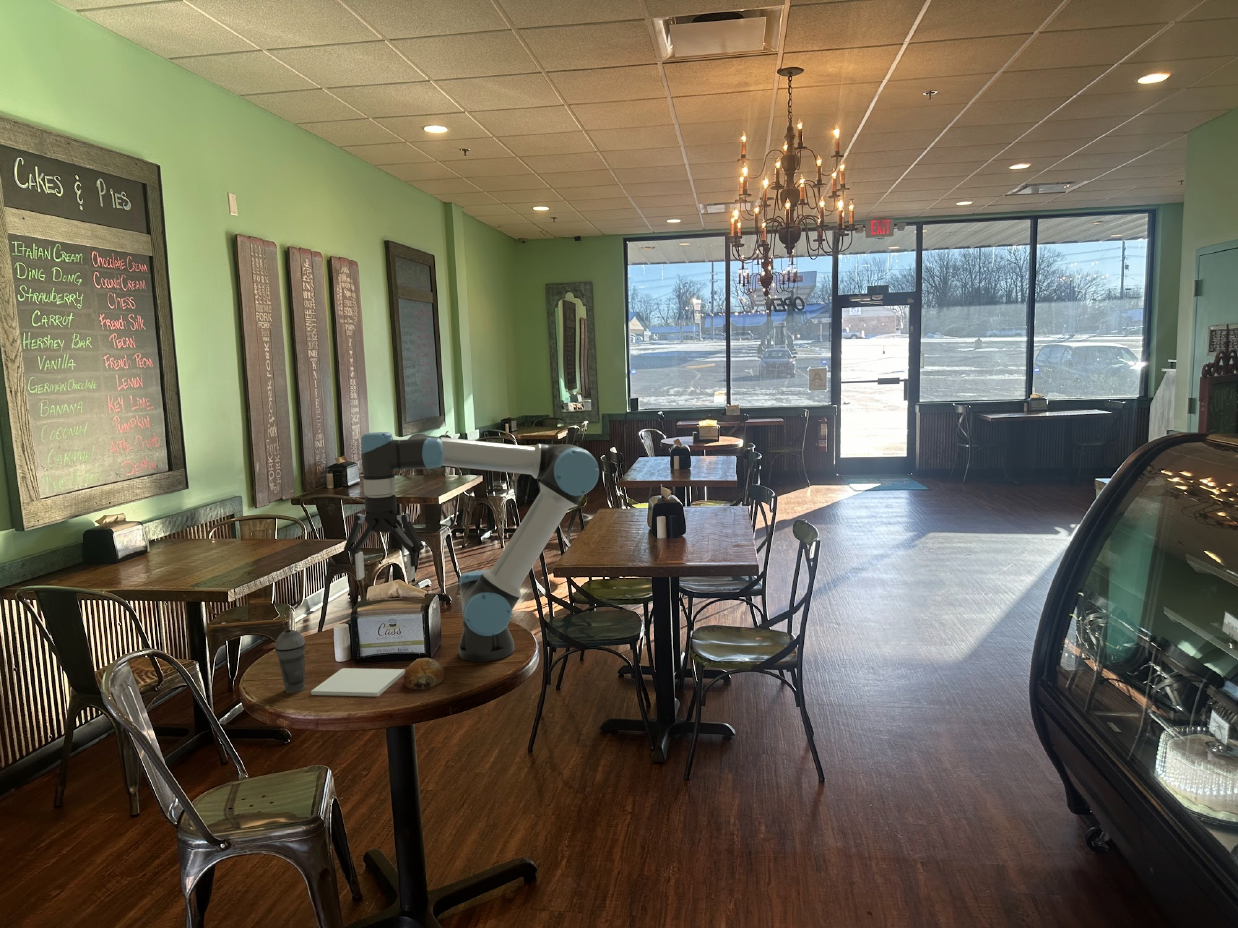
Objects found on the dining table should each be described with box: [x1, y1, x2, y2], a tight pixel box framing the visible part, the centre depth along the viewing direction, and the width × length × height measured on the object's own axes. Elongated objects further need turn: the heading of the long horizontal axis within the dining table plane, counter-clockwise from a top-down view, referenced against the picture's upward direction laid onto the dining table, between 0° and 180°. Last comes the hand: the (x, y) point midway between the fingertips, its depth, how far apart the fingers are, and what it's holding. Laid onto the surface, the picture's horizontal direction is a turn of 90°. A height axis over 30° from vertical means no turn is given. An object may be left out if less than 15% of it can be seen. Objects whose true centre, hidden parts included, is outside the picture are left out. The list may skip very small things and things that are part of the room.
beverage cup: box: [274, 612, 307, 694], centre depth 207 cm, size 7×7×20 cm
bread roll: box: [403, 657, 445, 690], centre depth 208 cm, size 10×10×8 cm
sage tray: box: [310, 667, 406, 697], centre depth 210 cm, size 18×15×1 cm
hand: (386, 578), depth 205 cm, fingers open, 13 cm apart
